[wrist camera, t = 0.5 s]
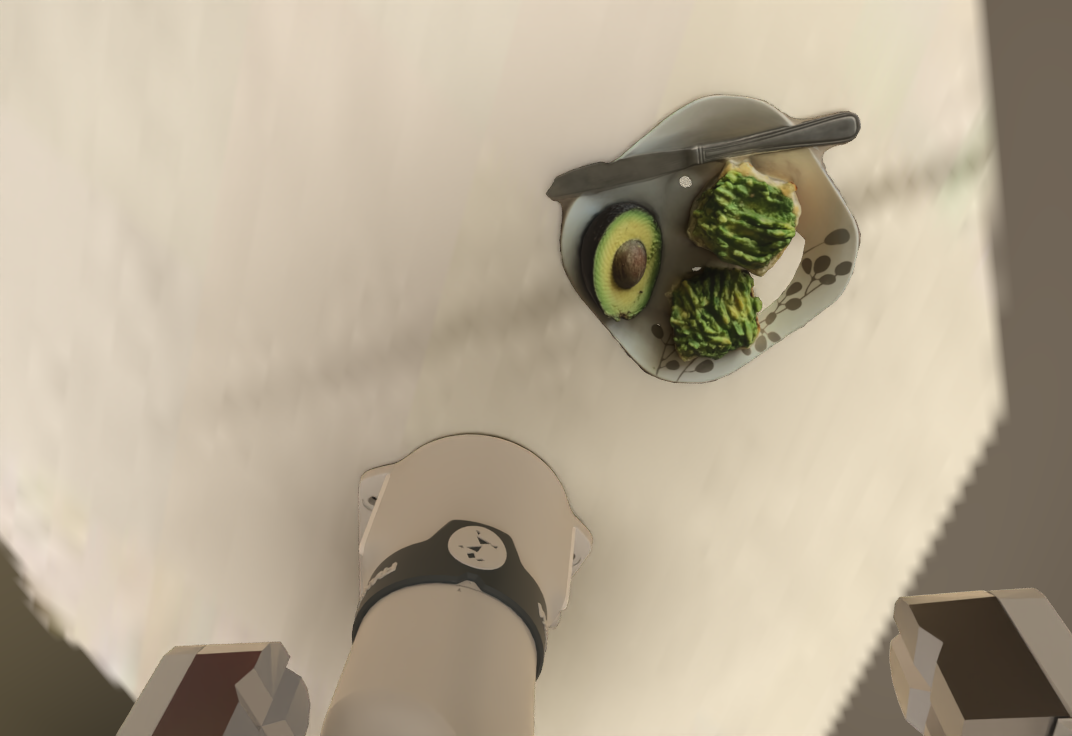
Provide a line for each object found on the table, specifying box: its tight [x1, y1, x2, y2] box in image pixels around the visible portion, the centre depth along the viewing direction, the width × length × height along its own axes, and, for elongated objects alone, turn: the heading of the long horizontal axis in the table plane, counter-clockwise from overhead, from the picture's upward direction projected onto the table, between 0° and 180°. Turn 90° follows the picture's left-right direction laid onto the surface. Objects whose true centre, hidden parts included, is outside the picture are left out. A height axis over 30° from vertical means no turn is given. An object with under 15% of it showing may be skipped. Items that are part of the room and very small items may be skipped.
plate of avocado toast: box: [546, 95, 861, 383], centre depth 43 cm, size 19×18×5 cm
